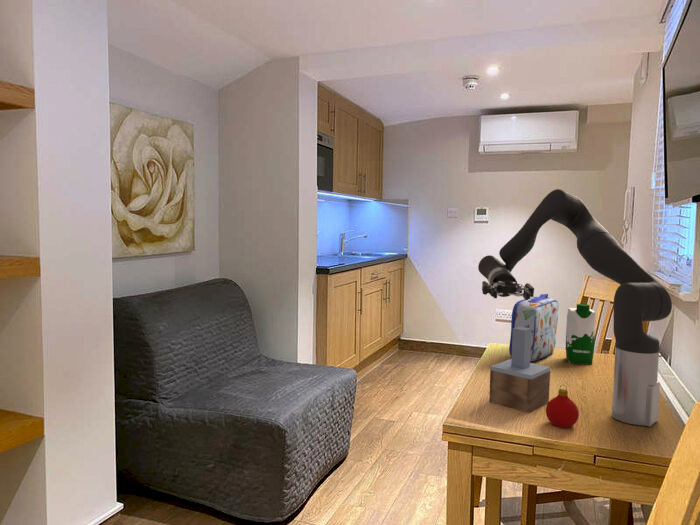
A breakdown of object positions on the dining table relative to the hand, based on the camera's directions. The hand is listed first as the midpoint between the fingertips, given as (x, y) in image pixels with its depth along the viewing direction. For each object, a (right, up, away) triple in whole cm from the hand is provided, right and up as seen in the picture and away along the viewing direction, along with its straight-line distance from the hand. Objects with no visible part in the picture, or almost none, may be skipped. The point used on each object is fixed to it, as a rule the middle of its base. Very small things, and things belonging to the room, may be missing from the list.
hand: (511, 295), depth 146 cm
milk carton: (+34, -25, +34) cm, 54 cm away
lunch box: (+20, -24, +41) cm, 51 cm away
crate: (-1, -28, -10) cm, 29 cm away
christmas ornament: (+4, -29, -24) cm, 38 cm away
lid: (-1, -20, -10) cm, 23 cm away
